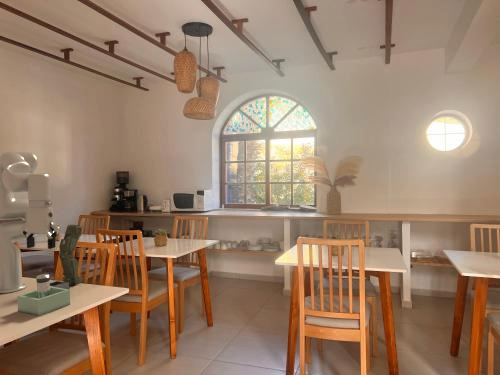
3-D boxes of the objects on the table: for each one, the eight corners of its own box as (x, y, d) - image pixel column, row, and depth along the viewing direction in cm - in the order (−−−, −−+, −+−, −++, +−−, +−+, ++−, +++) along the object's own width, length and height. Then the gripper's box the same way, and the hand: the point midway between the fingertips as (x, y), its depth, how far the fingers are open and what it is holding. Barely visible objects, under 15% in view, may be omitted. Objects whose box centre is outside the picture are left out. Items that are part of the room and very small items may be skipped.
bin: (18, 311, 137) (17, 295, 137) (50, 300, 149) (49, 286, 149) (38, 316, 131) (37, 300, 131) (70, 304, 143) (69, 289, 143)
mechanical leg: (64, 288, 162) (72, 223, 168) (50, 288, 163) (59, 223, 169) (84, 287, 175) (90, 226, 181) (71, 286, 176) (78, 226, 183)
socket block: (41, 296, 154) (40, 285, 154) (58, 291, 161) (57, 280, 161) (52, 299, 150) (52, 287, 150) (69, 293, 158) (69, 282, 157)
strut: (44, 303, 143) (42, 273, 143) (53, 303, 142) (52, 274, 142) (35, 307, 138) (33, 277, 138) (44, 307, 138) (43, 277, 137)
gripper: (65, 204, 141) (67, 246, 142) (28, 203, 145) (30, 245, 145) (51, 205, 134) (52, 250, 134) (13, 205, 137) (14, 249, 138)
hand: (41, 247), depth 140 cm, fingers open, 9 cm apart
